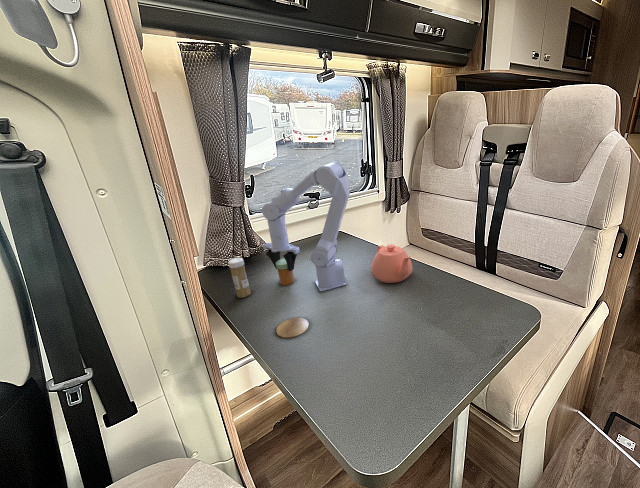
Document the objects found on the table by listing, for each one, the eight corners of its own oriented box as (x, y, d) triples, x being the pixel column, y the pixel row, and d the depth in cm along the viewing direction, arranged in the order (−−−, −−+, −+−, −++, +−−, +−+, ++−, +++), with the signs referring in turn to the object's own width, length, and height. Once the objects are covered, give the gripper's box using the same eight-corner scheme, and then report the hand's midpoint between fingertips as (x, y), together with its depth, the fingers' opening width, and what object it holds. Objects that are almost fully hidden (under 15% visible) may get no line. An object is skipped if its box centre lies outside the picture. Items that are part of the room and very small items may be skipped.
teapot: (427, 282, 115) (427, 250, 111) (391, 295, 107) (389, 262, 103) (395, 261, 132) (394, 233, 128) (361, 271, 125) (359, 242, 120)
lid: (273, 268, 115) (272, 263, 114) (283, 261, 120) (282, 257, 119) (285, 270, 113) (284, 265, 112) (295, 263, 118) (295, 259, 117)
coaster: (305, 315, 98) (305, 314, 98) (311, 331, 91) (311, 330, 90) (274, 324, 94) (274, 323, 94) (278, 342, 87) (278, 341, 87)
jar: (293, 277, 122) (290, 259, 119) (295, 282, 118) (292, 264, 115) (279, 280, 120) (275, 262, 117) (281, 286, 116) (277, 268, 113)
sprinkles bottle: (252, 295, 110) (244, 260, 105) (237, 299, 108) (229, 264, 103) (249, 289, 114) (241, 256, 109) (235, 293, 111) (227, 259, 107)
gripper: (254, 236, 111) (261, 270, 116) (288, 240, 106) (294, 276, 111) (268, 229, 117) (274, 262, 122) (301, 233, 112) (306, 267, 117)
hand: (284, 268), depth 117 cm, fingers closed on lid, 5 cm apart
